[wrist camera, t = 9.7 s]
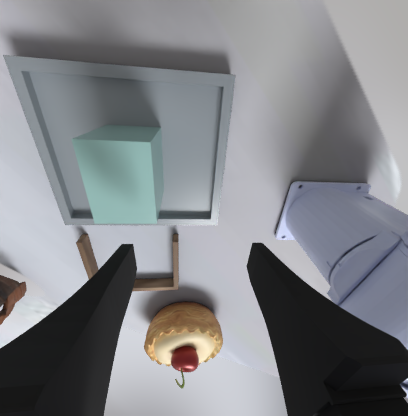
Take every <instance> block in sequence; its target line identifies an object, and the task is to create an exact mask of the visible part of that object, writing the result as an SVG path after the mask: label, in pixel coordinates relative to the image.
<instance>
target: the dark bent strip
mask: <svg viewBox="0 0 408 416" xmlns="http://www.w3.org/2000/svg"><path fill="white" fill-rule="evenodd" d="M76 244H77V247H78V249H79V252H80V255H81V258H82V261H83V264H84V267H85V269H86V272H87V275H88V278H89V279H90V278H91V277H92V276H94V274H95V273H96V272H97V271H98V267H97V263H96V260H95V257H94V253H93V250H92V247H91V244H90V240H89V237H88V234H82V235H81V237H80V238H79V240H78V241H77V242H76ZM173 274H174V278H162V279H135V282H134V287H133V290H132V291H156V290H178V282H179V275H178V234H173Z"/></svg>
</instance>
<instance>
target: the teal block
mask: <svg viewBox="0 0 408 416" xmlns="http://www.w3.org/2000/svg"><path fill="white" fill-rule="evenodd" d="M71 140H72V143H73V147H74V151H75V154H76V158H77V161H78V165H79V169H80V172H81V176H82V180H83V183H84V187H85V190H86V194H87V198H88V201H89V205H90V209H91V212H92V216H93V219H94V223H95V224H157V221H158V216H159V211H160V207H161V202H162V198H163V193H164V176H163V156H162V136H161V127H144V126H124V125H105V126H102V127H100V128H97V129H95V130H93V131H90V132H88V133H85V134H83V135H80V136H78V137H75V138H73V139H71Z"/></svg>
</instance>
